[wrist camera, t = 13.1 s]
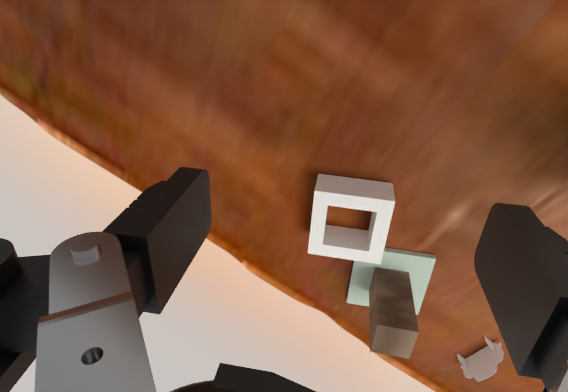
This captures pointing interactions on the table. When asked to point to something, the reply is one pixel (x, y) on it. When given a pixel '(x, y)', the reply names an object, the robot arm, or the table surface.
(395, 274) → the walnut block
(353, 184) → the pocket holder
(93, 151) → the table surface
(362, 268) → the green mat
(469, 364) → the grey eared piece
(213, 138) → the table surface
